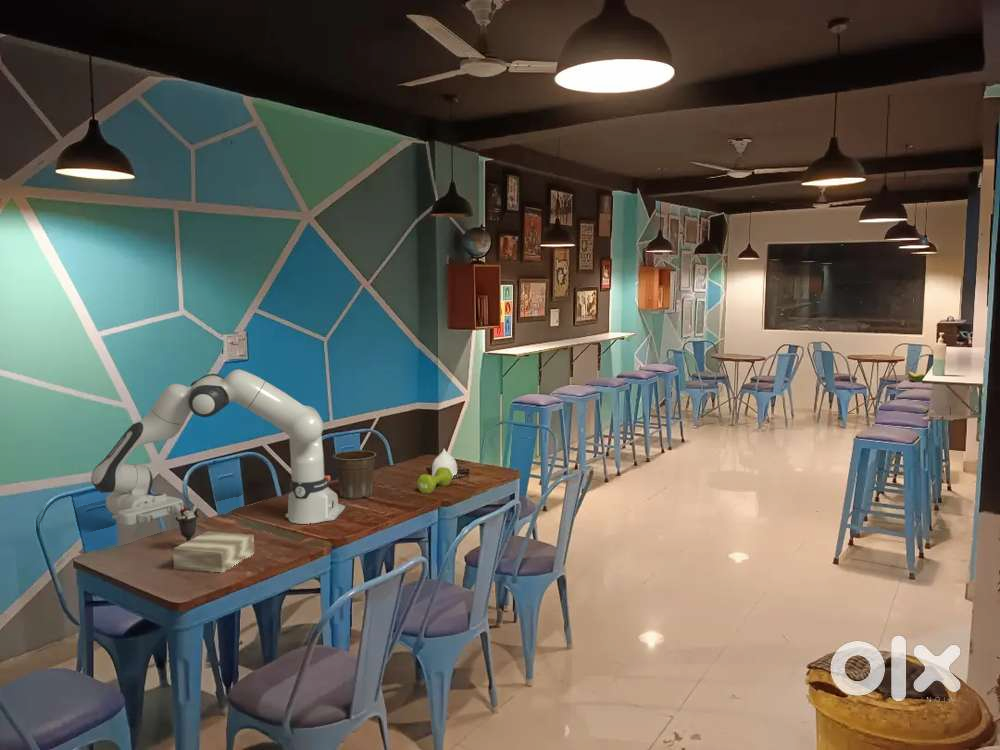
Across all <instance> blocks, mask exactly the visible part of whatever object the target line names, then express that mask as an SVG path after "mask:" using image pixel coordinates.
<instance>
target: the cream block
mask: <svg viewBox="0 0 1000 750" xmlns="http://www.w3.org/2000/svg"><path fill="white" fill-rule="evenodd" d="M254 537H255V535H254V534H249V533H248V534H247V533H238V532H237V533H233V532H223V531H221V532H220V531H210V530H209V531H206V532H204V533H202V534H199V535H197V536H196V537H194V538H191V540H189V541H187V540H186V542H184V543H182V544H179V545H178V546H175V547H174V548H172V556H173V557H172V558H173V569H174V570H181V569H183V570H185V571H192V570H193V571H194V572H203V571H206V572H205V573H214V572H220V573H219V574H224V573H225V571H226V570H227V571H229V570H230V569H232V568H234V567H235V566H237V565H238V563H239V562H240V563H242V562H244V561H245V560H247V559H249V558H251V557H252V556H253V554H254V553H255V540H254ZM251 555H252V556H251ZM254 555H255V554H254ZM248 557H249V558H248ZM246 558H247V559H246ZM244 559H245V560H244ZM243 560H244V561H243ZM241 561H242V562H241ZM240 563H239V564H240ZM236 564H237V565H236ZM234 565H235V566H234ZM233 566H234V567H233ZM231 567H232V568H231ZM228 569H229V570H228ZM183 570H182V571H183ZM207 571H209V572H207ZM227 571H226V572H227ZM223 572H224V573H223Z"/></svg>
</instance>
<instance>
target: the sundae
mask: <svg viewBox="0 0 1000 750" xmlns="http://www.w3.org/2000/svg"><path fill="white" fill-rule="evenodd" d="M180 504H181V503H179V505H180ZM199 517H200V515H199V514H198V508H196V509H195V510H194V509H191V508H189V507H188V506H185V505H184V509H182V506H181V510H180V513H179V514H177V516H176V517H175V521H176V522H178V525H179V531H180V535H181V536H182V537H183V538H185V539H186V542H187V541H189V540H191V539H192V537H193V536H194V535H195V534H196V531H197V530H196V529H197V519H198V518H199Z"/></svg>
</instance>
